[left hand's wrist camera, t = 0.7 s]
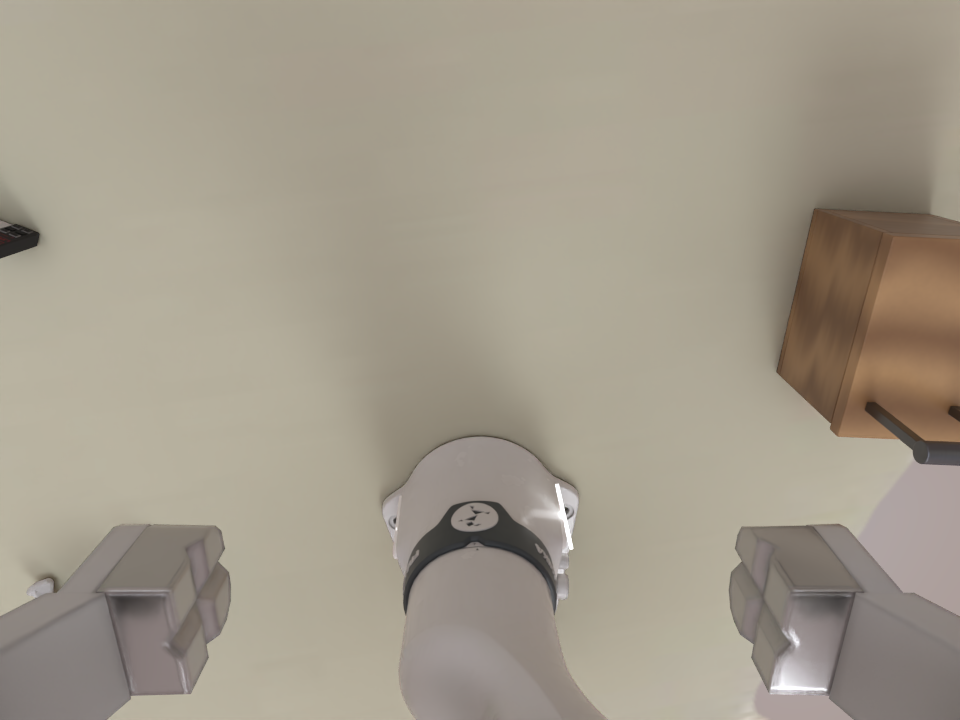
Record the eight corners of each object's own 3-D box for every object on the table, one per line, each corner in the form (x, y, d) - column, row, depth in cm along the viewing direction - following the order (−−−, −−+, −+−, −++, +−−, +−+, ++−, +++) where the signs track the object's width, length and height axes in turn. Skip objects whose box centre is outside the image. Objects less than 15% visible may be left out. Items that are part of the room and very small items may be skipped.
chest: (883, 377, 60) (956, 429, 50) (776, 372, 59) (830, 423, 50) (931, 214, 54) (1023, 239, 45) (814, 208, 54) (882, 232, 45)
